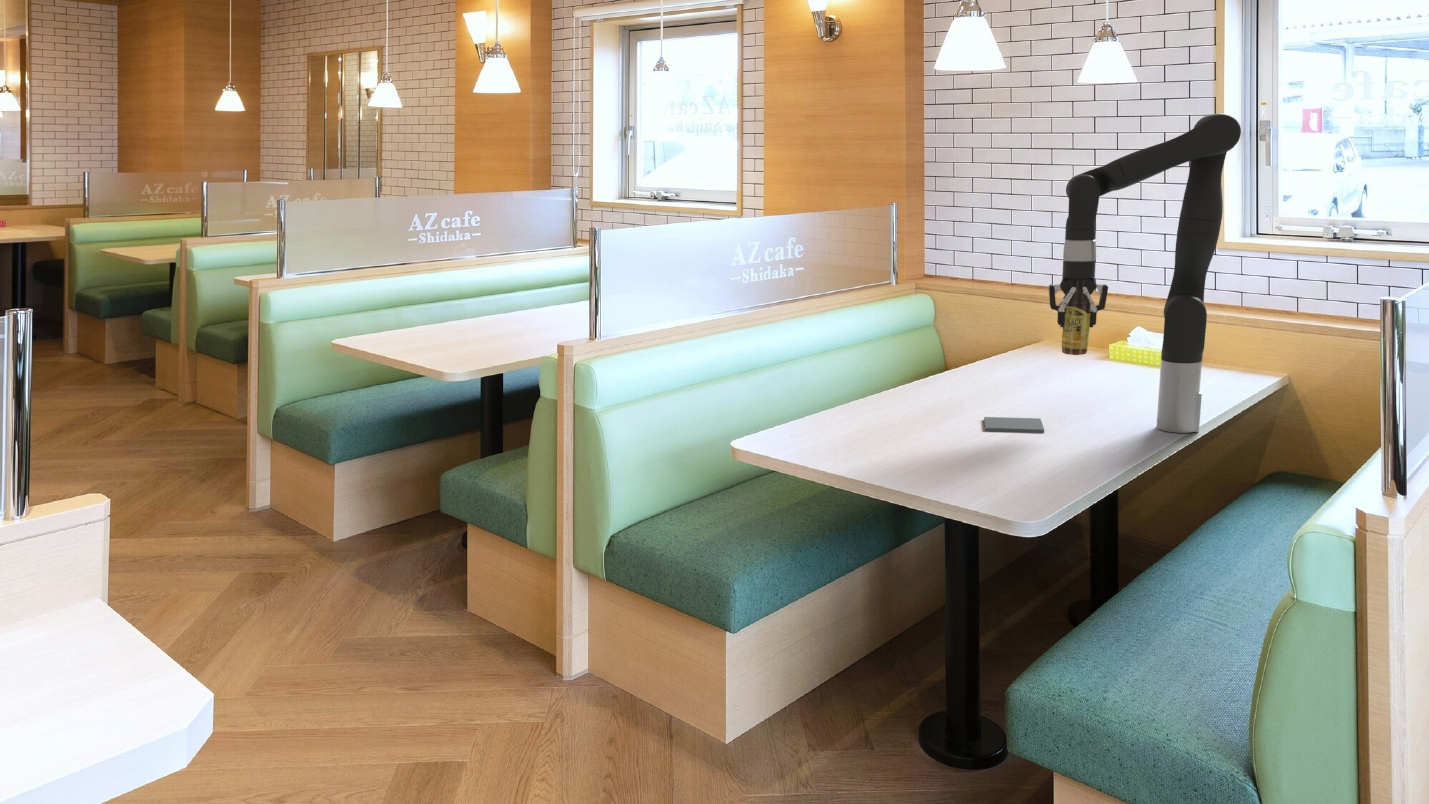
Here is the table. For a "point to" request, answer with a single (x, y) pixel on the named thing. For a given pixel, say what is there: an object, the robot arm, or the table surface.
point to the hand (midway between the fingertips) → (1076, 326)
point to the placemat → (1013, 424)
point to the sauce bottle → (1076, 321)
